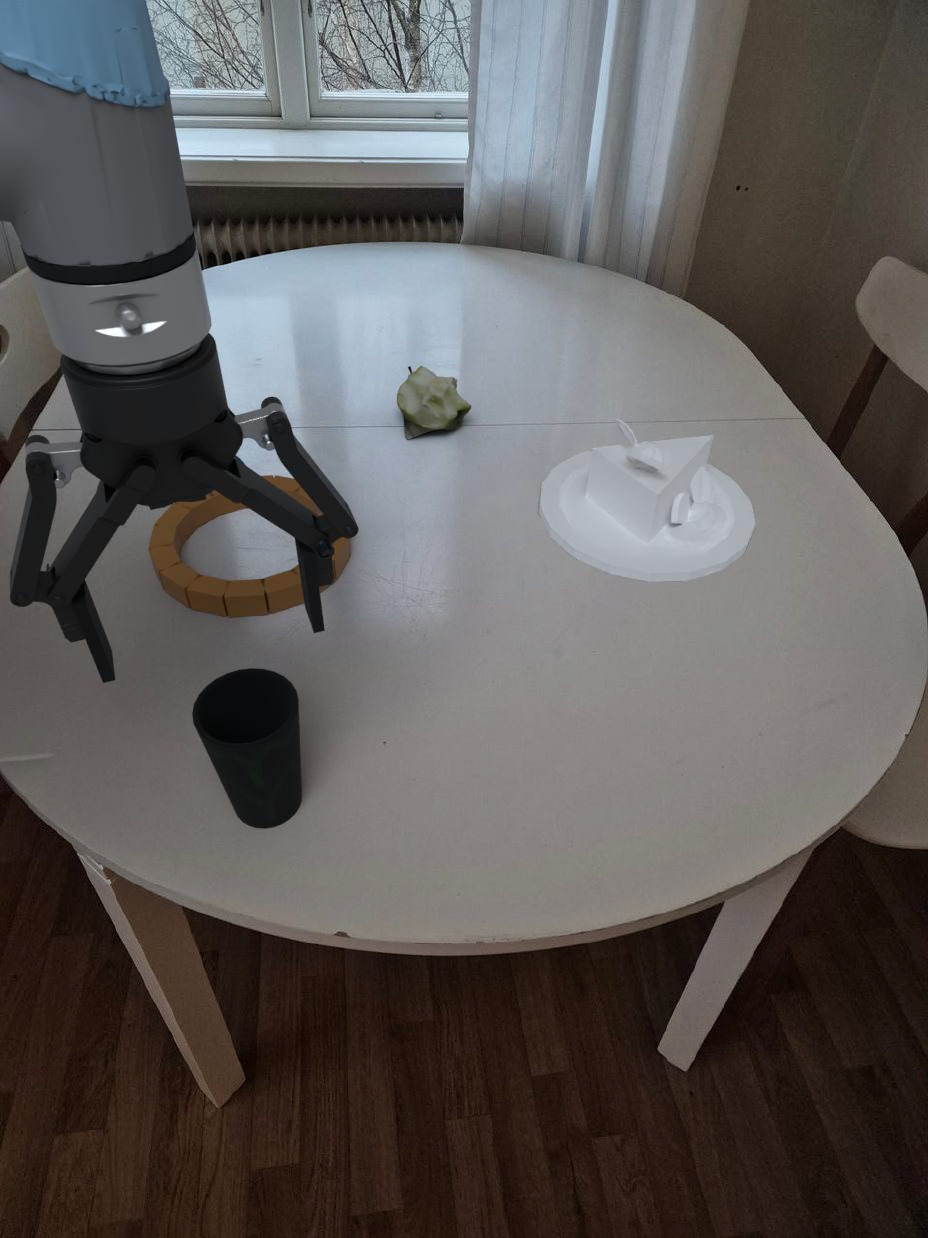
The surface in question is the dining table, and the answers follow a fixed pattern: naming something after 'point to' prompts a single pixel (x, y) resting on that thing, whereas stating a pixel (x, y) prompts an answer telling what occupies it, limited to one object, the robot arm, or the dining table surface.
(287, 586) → the orange-brown segmented ring
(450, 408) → the fruit
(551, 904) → the dining table surface
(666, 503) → the dish
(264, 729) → the cup
